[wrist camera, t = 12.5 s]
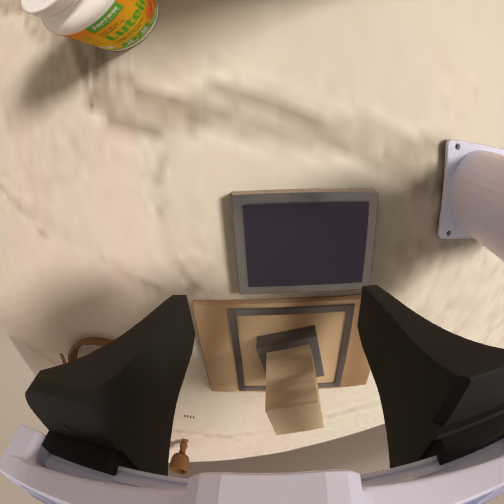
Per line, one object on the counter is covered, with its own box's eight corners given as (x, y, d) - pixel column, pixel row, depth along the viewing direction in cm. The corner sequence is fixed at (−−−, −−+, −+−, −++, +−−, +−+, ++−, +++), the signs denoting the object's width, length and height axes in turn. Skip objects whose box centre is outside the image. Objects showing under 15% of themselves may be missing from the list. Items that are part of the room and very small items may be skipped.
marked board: (385, 292, 23) (388, 298, 23) (364, 380, 28) (366, 385, 27) (193, 300, 24) (191, 306, 24) (212, 386, 29) (211, 392, 28)
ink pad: (373, 188, 20) (379, 192, 19) (365, 282, 23) (369, 289, 22) (232, 191, 20) (230, 195, 19) (241, 287, 24) (239, 295, 22)
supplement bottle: (135, 61, 17) (51, 33, 8) (84, 42, 16) (-2, 21, 7) (174, 1, 15) (116, -61, 6) (120, -14, 14) (50, -61, 5)
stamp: (314, 324, 24) (327, 393, 17) (322, 364, 26) (333, 429, 19) (256, 336, 25) (252, 406, 18) (270, 374, 27) (269, 439, 20)
